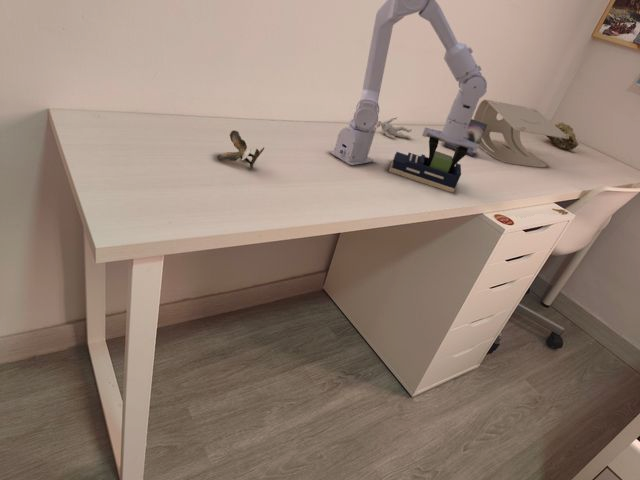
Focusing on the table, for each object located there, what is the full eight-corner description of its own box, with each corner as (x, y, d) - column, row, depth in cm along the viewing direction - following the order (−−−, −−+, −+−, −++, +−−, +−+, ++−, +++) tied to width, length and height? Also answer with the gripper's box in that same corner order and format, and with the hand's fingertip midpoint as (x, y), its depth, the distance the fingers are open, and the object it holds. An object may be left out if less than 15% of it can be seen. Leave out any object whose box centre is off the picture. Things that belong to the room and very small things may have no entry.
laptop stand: (513, 143, 182) (531, 106, 174) (554, 169, 164) (576, 129, 156) (462, 136, 173) (479, 96, 165) (500, 163, 154) (521, 119, 146)
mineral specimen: (577, 150, 201) (589, 129, 196) (571, 154, 191) (584, 132, 186) (546, 138, 207) (557, 117, 202) (538, 141, 198) (550, 119, 193)
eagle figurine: (263, 157, 106) (231, 138, 106) (265, 140, 99) (231, 120, 100) (246, 181, 103) (212, 161, 103) (247, 164, 96) (211, 143, 96)
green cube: (445, 179, 120) (452, 162, 118) (427, 173, 121) (434, 156, 118) (445, 172, 125) (452, 156, 122) (428, 167, 125) (434, 150, 122)
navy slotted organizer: (452, 182, 127) (460, 164, 124) (452, 192, 120) (461, 174, 117) (392, 161, 129) (398, 144, 126) (388, 171, 121) (395, 152, 119)
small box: (443, 146, 154) (455, 117, 149) (445, 142, 160) (457, 113, 154) (473, 157, 152) (486, 128, 147) (474, 152, 158) (487, 124, 152)
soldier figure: (409, 145, 150) (383, 129, 144) (399, 149, 154) (373, 134, 148) (412, 124, 152) (386, 108, 146) (402, 129, 156) (376, 114, 150)
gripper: (484, 125, 118) (464, 172, 125) (431, 108, 119) (414, 155, 126) (486, 132, 112) (464, 180, 119) (430, 114, 113) (412, 163, 120)
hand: (438, 168), depth 122 cm, fingers closed on green cube, 5 cm apart
